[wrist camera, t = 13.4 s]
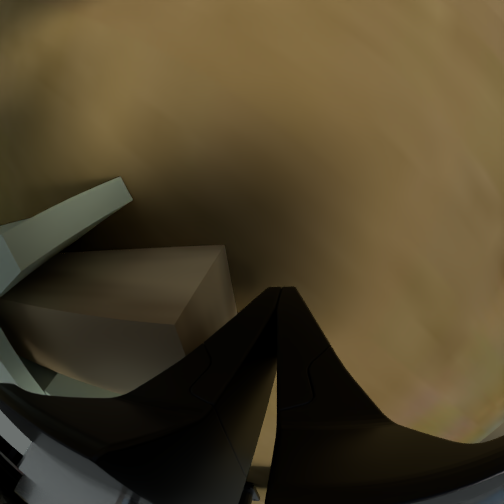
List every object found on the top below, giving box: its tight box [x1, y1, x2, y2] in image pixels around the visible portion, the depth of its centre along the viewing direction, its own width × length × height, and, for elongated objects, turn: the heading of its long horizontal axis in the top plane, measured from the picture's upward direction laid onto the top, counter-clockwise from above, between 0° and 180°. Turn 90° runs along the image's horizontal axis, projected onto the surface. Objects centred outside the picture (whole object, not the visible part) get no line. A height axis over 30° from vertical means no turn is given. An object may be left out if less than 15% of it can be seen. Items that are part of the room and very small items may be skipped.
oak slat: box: [0, 245, 237, 395], centre depth 10 cm, size 4×12×4 cm, turn 97°
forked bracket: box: [0, 177, 133, 398], centre depth 9 cm, size 9×12×6 cm
